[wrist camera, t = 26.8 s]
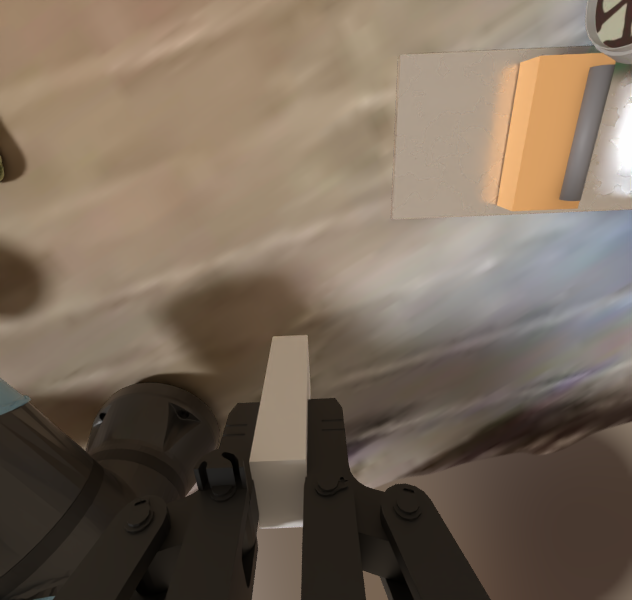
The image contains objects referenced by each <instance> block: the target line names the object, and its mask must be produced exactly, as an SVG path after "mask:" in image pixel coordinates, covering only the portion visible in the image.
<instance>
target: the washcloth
mask: <svg viewBox="0 0 632 600" xmlns="http://www.w3.org/2000/svg"><path fill="white" fill-rule="evenodd" d="M3 177H4V168H3V164H2V159H1V156H0V181H1V180H2V179H3Z"/></svg>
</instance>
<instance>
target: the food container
mask: <svg viewBox="0 0 632 600" xmlns="http://www.w3.org/2000/svg"><path fill="white" fill-rule="evenodd" d="M585 25H586V31H587V34H588V37H589V39H590V40H591V41H592V43H593V45H594V46H595V47H596V49H597V50H599V51H600V52H602V53H604V54H605V55H607V56H608V57H610V58H612V59H613V60H615V61H616V62H619V63H622V64H632V0H587V6H586V12H585Z"/></svg>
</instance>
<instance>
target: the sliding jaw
mask: <svg viewBox="0 0 632 600" xmlns="http://www.w3.org/2000/svg"><path fill="white" fill-rule="evenodd" d="M615 62H616V61H615V60H613V59H612V58H610V57H608V56H607V55H605V54H604V53H587V54H565V55H544V56H538V57H535V58H532V59H529V60H527V61H524V62H521V63H520V68H519V74H518V80H517V87H516V93H515V99H514V105H513V111H512V117H511V123H510V129H509V135H508V141H507V147H506V153H505V159H504V165H503V171H502V177H501V183H500V190H499V196H498V202H497V206H499V207H502V208H505V209H507V210H510V211H532V210H556V209H578V206H579V202H580V200H581V197H582V193H583V189H584V185H585V182H586V178H587V174H588V170H589V166H590V162H591V158H592V154H593V151H594V147H595V143H596V139H597V135H598V131H599V127H600V123H601V120H602V116H603V112H604V108H605V104H606V100H607V96H608V92H609V89H610V85H611V81H612V77H613V73H614V69H615Z"/></svg>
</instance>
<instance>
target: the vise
mask: <svg viewBox="0 0 632 600" xmlns="http://www.w3.org/2000/svg"><path fill="white" fill-rule="evenodd" d="M587 53H602V52H600V51H599V50H597V49H596V47H595V46H577V47H556V48H534V49H512V50H491V51H469V52H447V53H426V54H404V55H399V56H398V64H397V87H396V109H395V131H394V153H393V175H392V197H391V218H392V220H393V219H417V218H441V217H464V216H488V215H512V214H535V213H559V212H583V211H606V210H630V209H632V64H622V63H619V62H615V69H614V73H613V77H612V81H611V85H610V89H609V92H608V96H607V100H606V104H605V108H604V112H603V116H602V120H601V123H600V127H599V131H598V135H597V139H596V143H595V147H594V151H593V154H592V158H591V162H590V166H589V170H588V174H587V178H586V182H585V185H584V189H583V193H582V197H581V200H580V202H579V206H578V209H556V210H532V211H510V210H507V209H505V208H502V207H499V206H497V202H498V196H499V190H500V183H501V177H502V171H503V165H504V159H505V153H506V147H507V141H508V135H509V129H510V123H511V117H512V111H513V105H514V99H515V93H516V87H517V80H518V74H519V68H520V63H521V62H524V61H527V60H529V59H532V58H535V57H538V56H544V55H565V54H587Z"/></svg>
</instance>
